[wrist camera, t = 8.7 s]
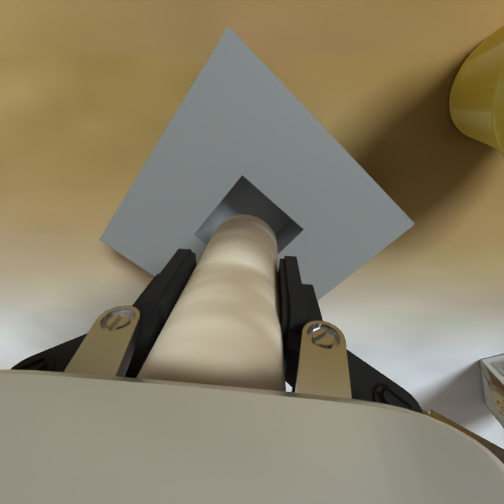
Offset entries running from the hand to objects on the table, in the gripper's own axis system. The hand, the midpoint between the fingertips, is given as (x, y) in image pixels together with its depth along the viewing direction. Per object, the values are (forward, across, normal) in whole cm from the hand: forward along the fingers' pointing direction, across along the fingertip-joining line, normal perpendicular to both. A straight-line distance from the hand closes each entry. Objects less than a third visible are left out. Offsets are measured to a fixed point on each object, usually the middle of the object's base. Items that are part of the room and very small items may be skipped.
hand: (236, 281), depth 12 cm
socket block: (+11, 0, 0) cm, 11 cm away
